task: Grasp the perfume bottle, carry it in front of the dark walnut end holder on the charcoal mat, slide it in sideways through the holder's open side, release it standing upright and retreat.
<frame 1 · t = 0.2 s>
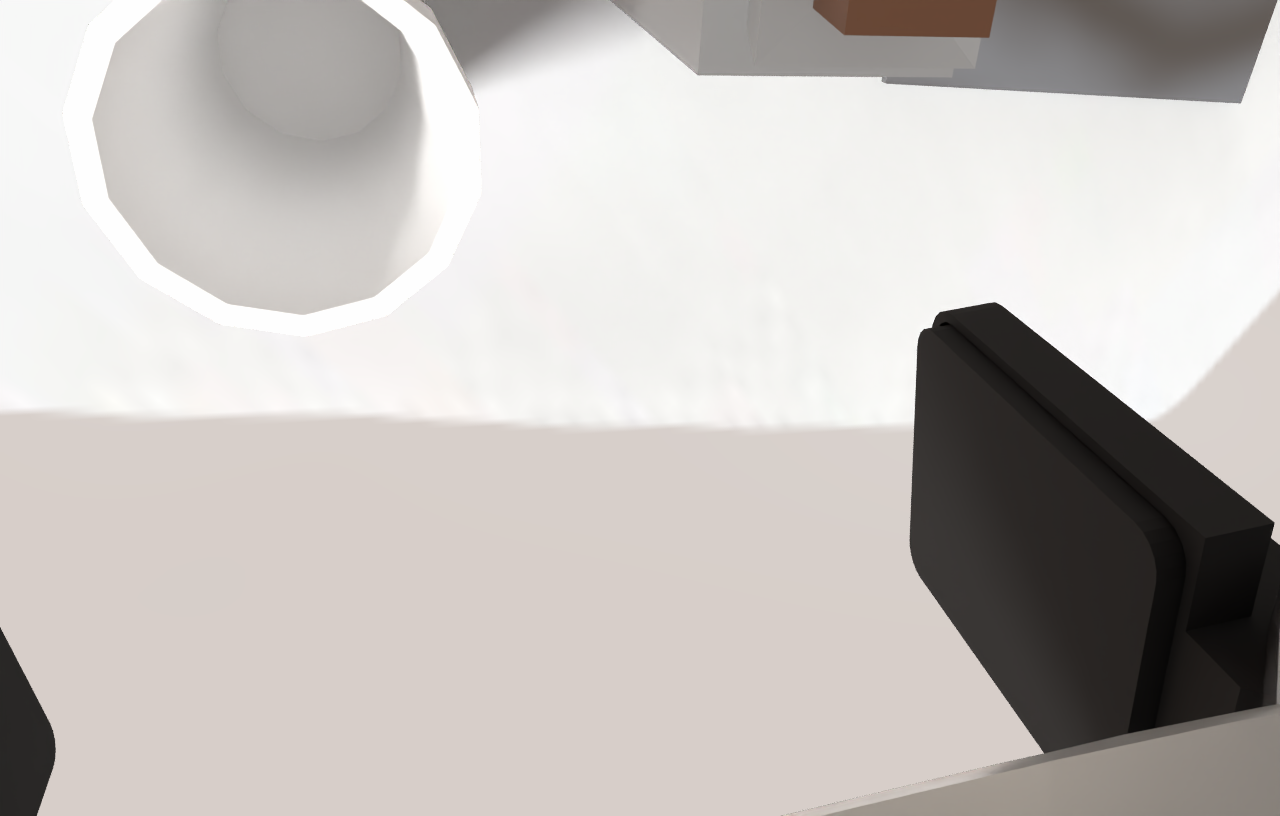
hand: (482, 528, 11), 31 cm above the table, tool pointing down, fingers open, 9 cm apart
foam cup: (313, 47, 37), on the table
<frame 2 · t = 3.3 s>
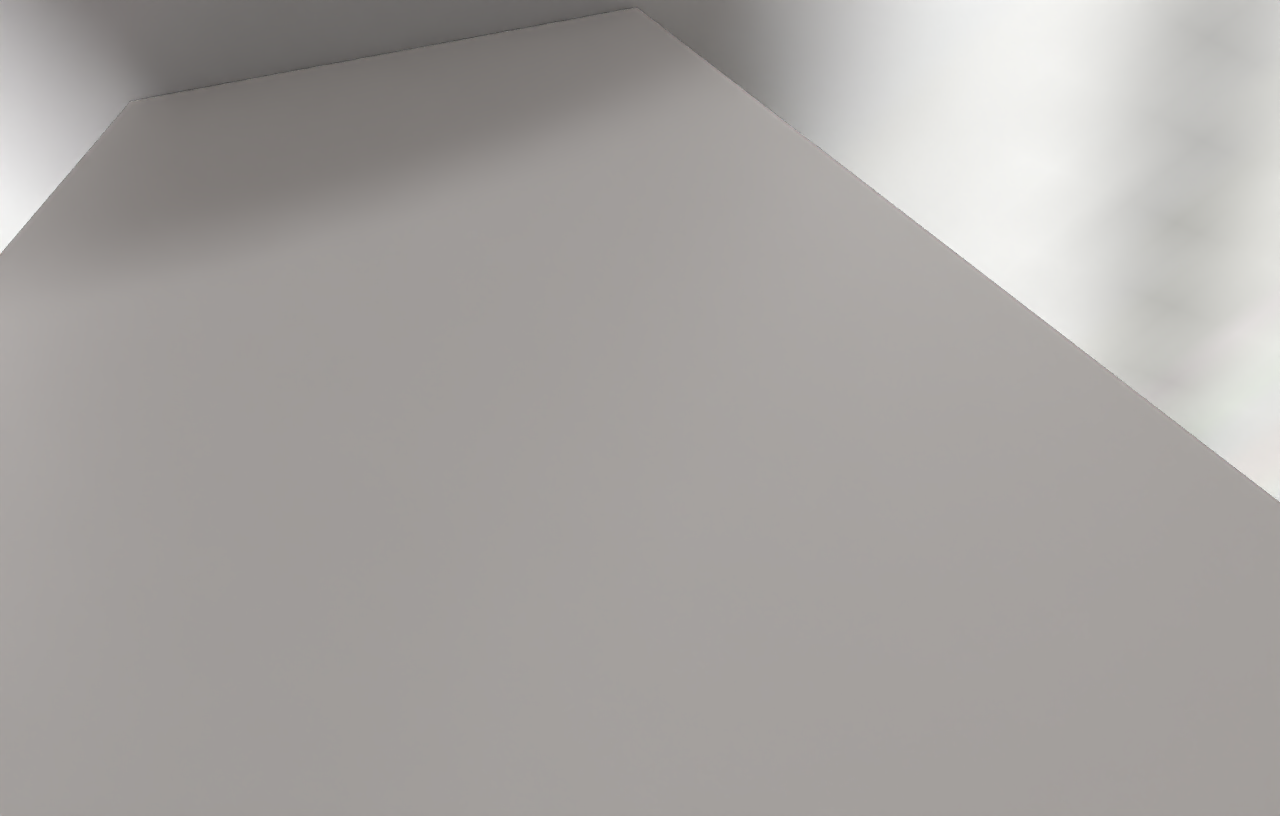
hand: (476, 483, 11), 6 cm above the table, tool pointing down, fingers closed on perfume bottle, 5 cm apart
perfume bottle: (447, 279, 16), on the table, touching gripper
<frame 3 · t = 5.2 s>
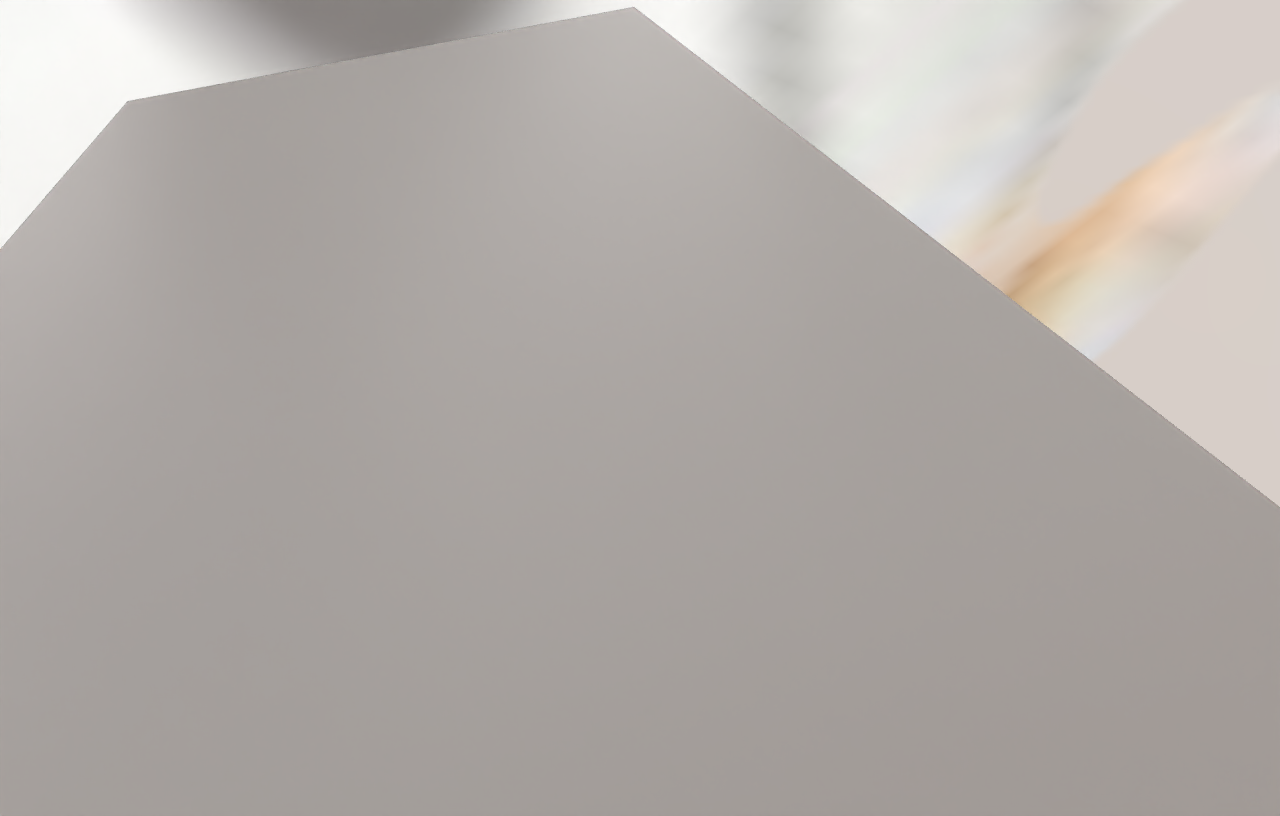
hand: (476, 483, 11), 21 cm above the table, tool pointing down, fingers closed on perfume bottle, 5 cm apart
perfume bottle: (444, 279, 16), point 15 cm above the table, touching gripper
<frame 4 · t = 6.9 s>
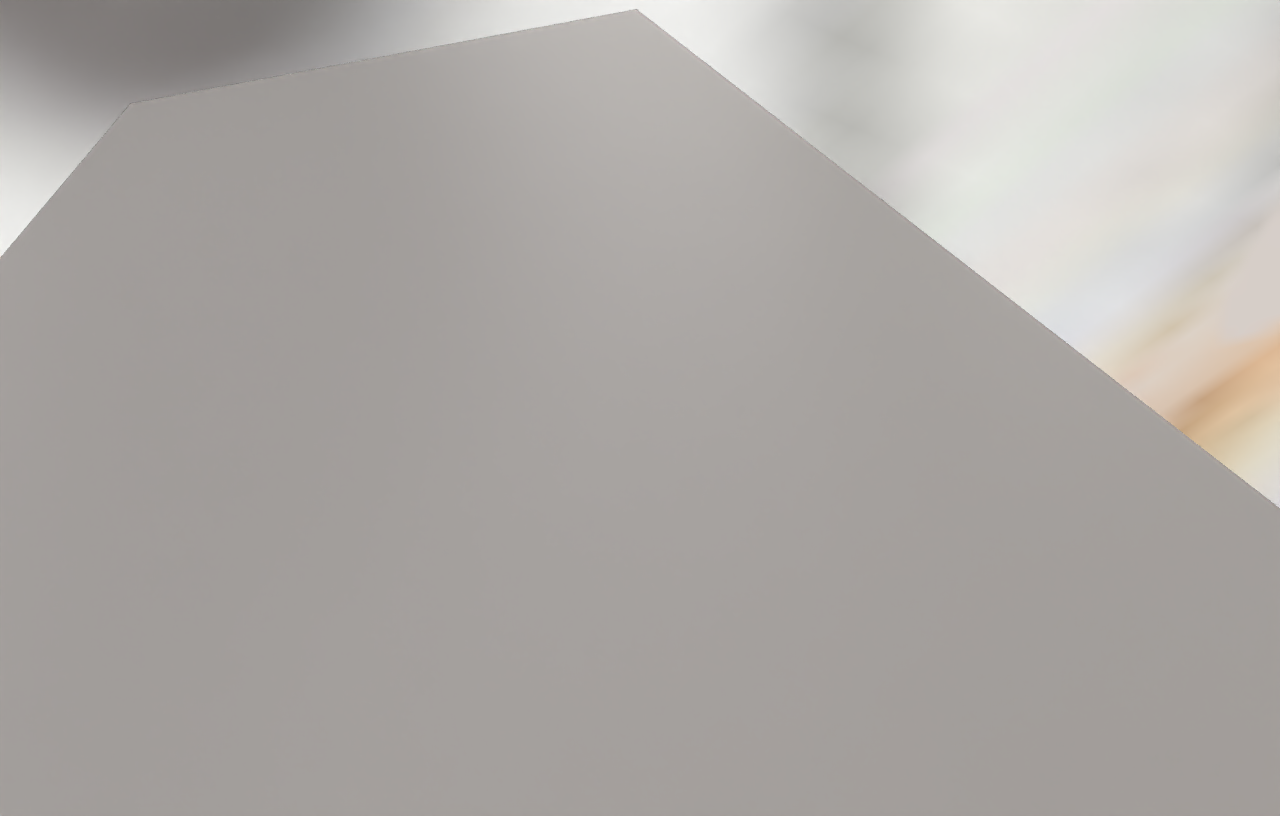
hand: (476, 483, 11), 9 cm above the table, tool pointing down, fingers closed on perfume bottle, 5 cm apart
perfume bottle: (447, 280, 16), point 3 cm above the table, touching gripper
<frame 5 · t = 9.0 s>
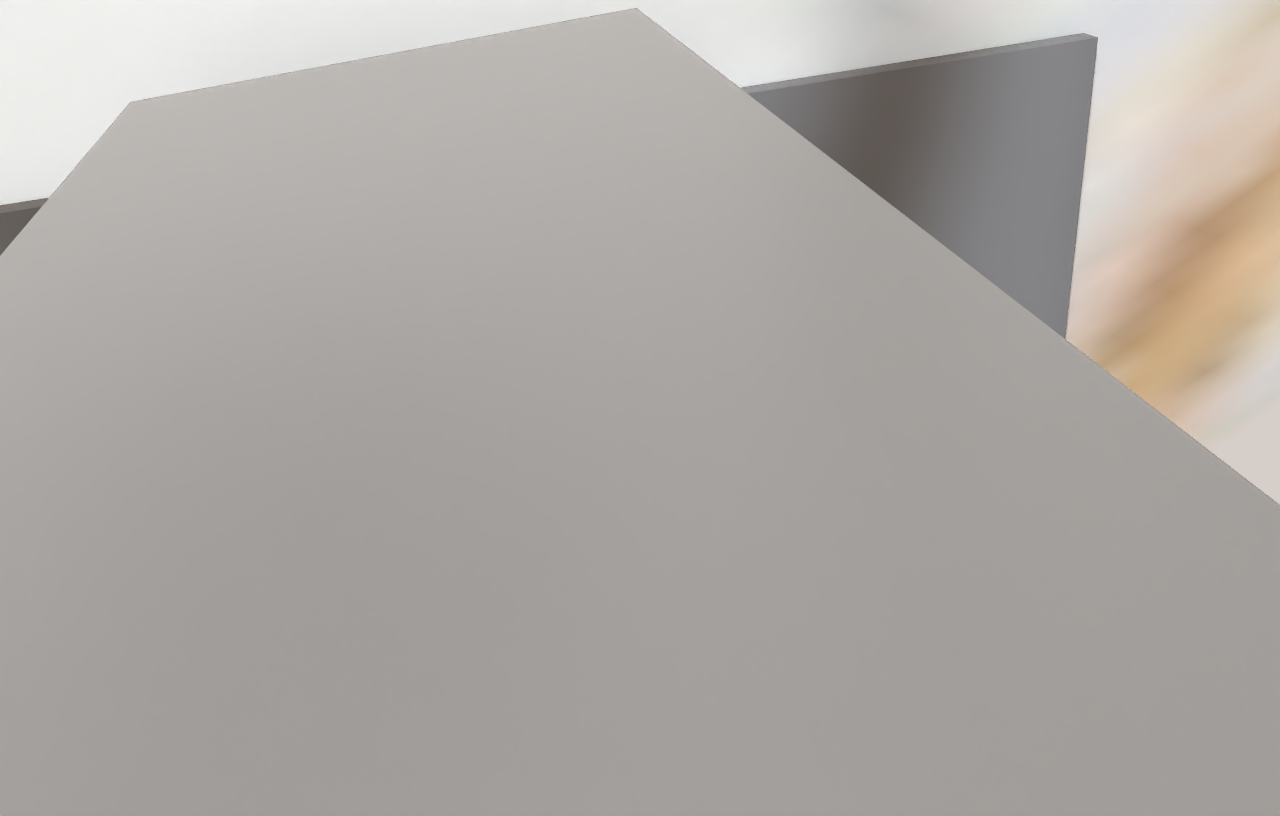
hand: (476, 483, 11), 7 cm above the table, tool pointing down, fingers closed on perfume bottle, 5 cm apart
end holder: (499, 560, 20), on the table
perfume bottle: (447, 279, 16), point 1 cm above the table, touching gripper
when the fingers open (7 cm above the table, at t = 10.8 s): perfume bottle stays where it is, resting on end holder.
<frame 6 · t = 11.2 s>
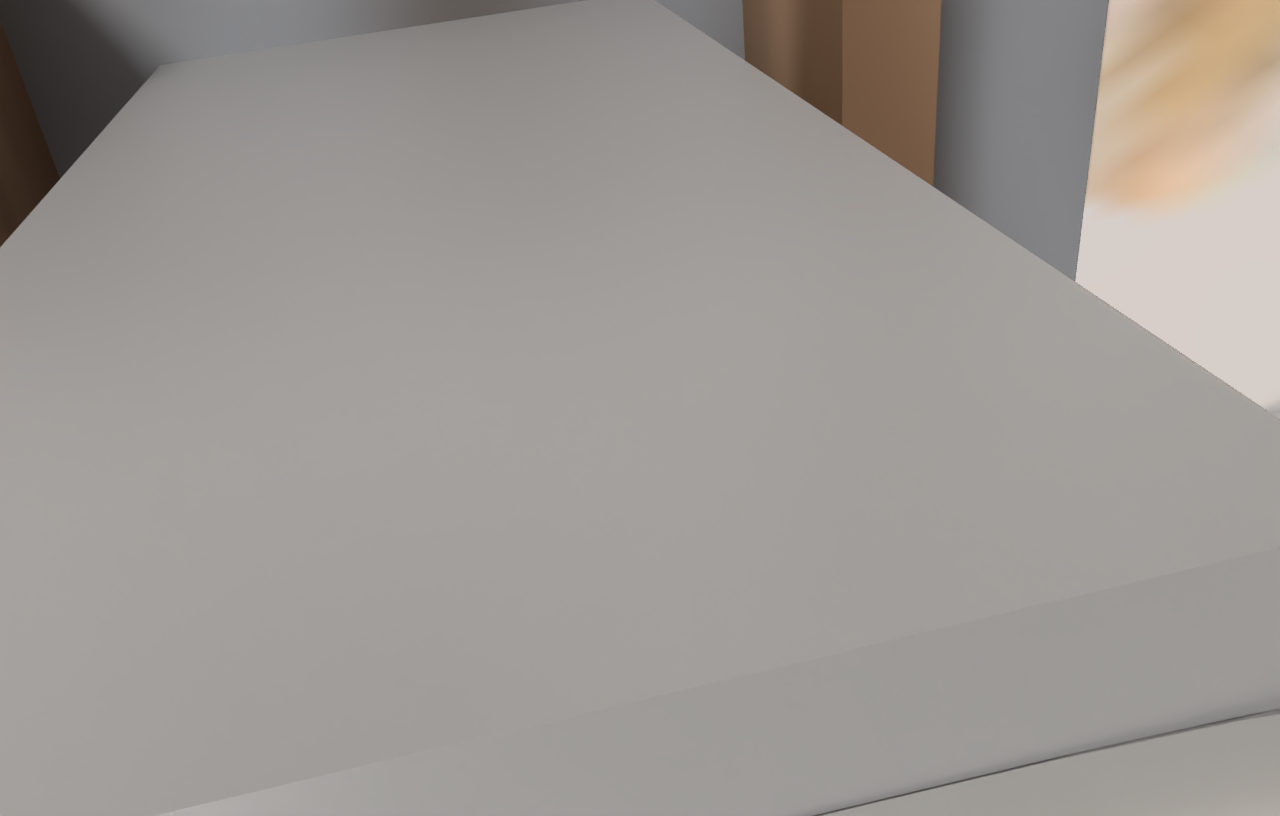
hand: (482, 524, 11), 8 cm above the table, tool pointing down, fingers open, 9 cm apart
end holder: (443, 252, 17), on the table
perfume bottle: (454, 247, 17), resting on end holder
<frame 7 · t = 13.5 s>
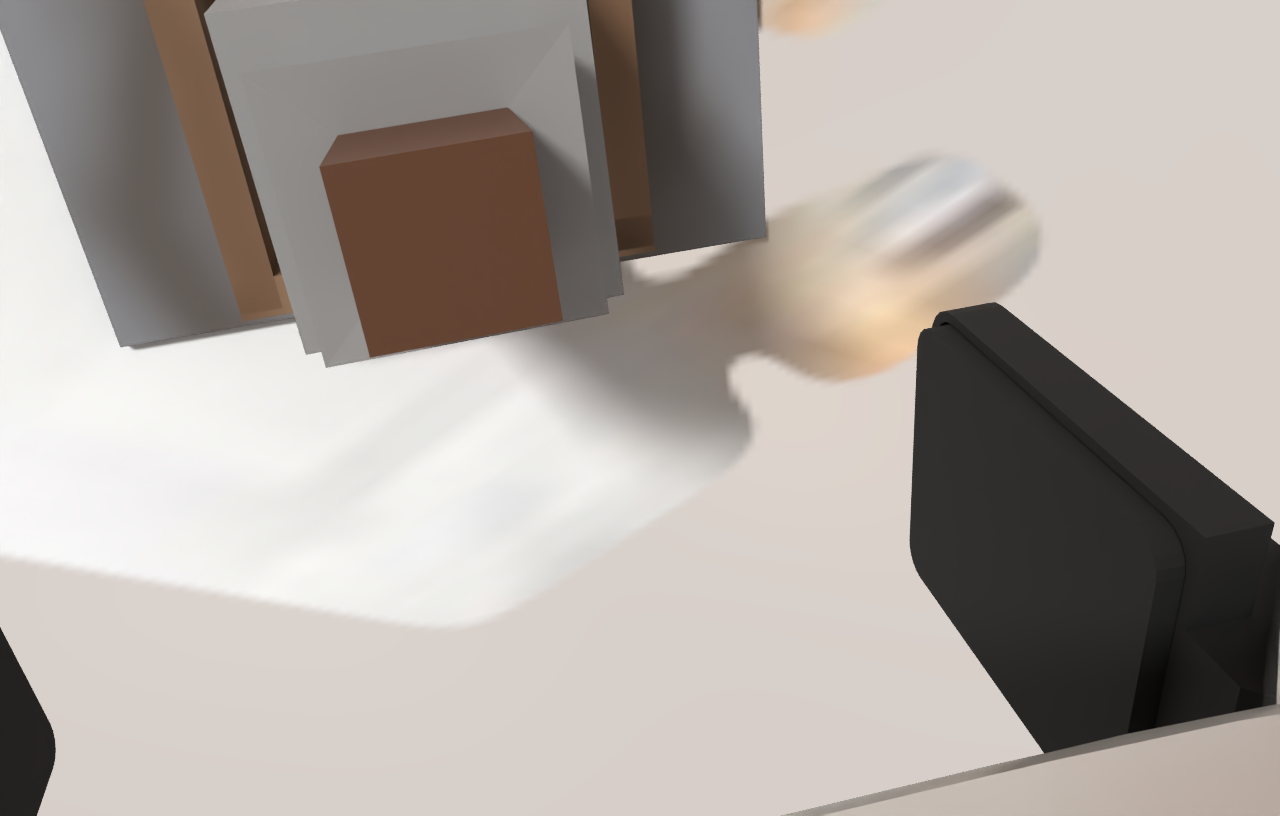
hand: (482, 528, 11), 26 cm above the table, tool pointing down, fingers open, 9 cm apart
end holder: (408, 45, 33), on the table
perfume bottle: (414, 41, 33), resting on end holder
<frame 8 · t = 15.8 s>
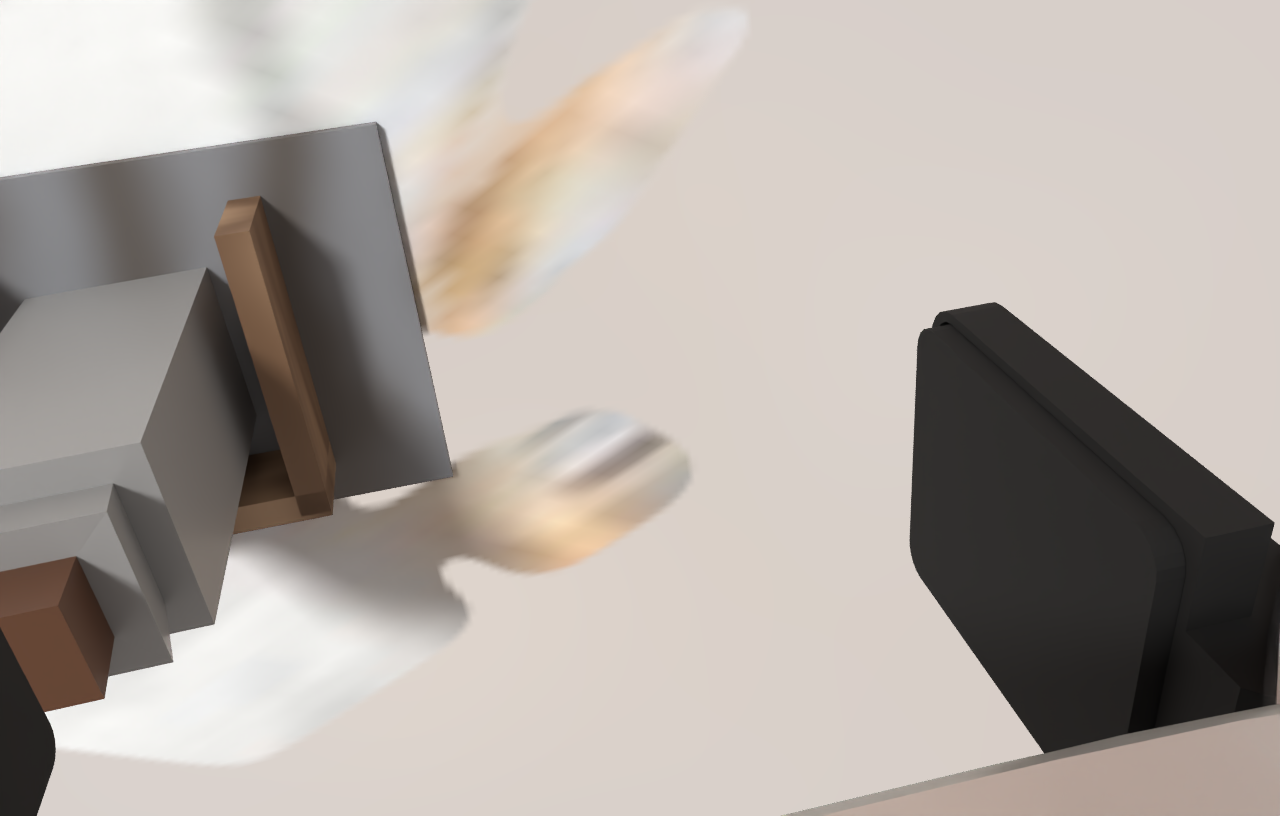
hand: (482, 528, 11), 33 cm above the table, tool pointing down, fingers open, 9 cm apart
end holder: (144, 359, 43), on the table
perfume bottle: (147, 358, 43), resting on end holder
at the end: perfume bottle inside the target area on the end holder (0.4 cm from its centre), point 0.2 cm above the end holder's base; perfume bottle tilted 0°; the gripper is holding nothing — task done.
